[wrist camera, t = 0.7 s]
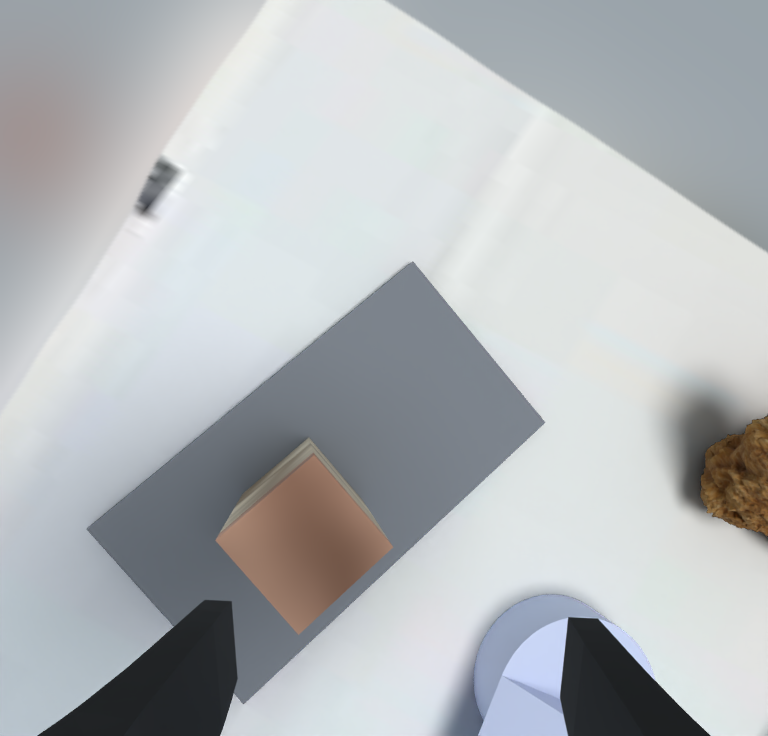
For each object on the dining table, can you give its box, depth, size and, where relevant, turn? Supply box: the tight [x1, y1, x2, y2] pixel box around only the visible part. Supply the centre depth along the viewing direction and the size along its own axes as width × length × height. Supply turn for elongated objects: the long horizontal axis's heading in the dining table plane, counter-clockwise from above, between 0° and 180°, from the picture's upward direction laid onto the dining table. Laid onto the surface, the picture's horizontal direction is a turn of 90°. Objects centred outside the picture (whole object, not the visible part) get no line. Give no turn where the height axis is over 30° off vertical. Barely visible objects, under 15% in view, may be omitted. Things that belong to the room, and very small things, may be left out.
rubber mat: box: [87, 262, 545, 704], centre depth 29 cm, size 22×12×1 cm, turn 131°
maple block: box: [215, 438, 393, 635], centre depth 24 cm, size 4×4×10 cm
